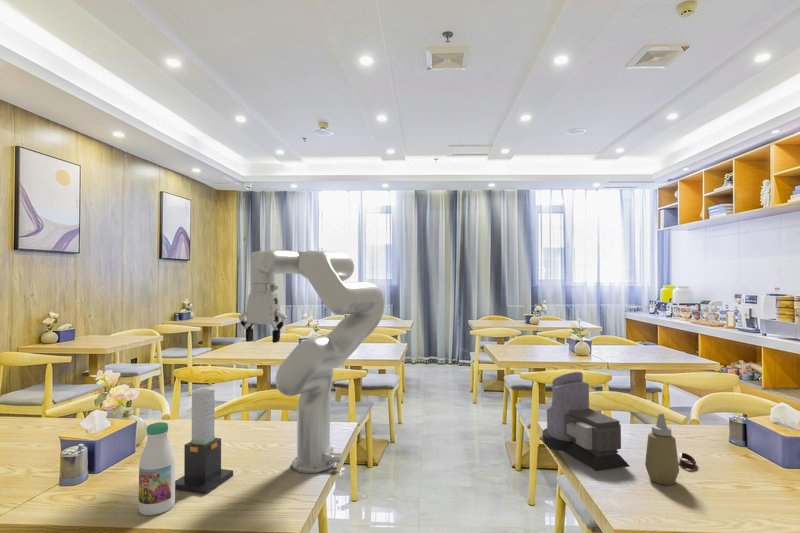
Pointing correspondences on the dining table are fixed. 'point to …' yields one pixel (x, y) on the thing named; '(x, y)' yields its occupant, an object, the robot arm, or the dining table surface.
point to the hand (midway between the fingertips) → (262, 341)
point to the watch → (688, 457)
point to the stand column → (202, 417)
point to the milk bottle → (157, 472)
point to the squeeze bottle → (662, 454)
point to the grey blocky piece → (581, 426)
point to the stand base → (202, 468)
